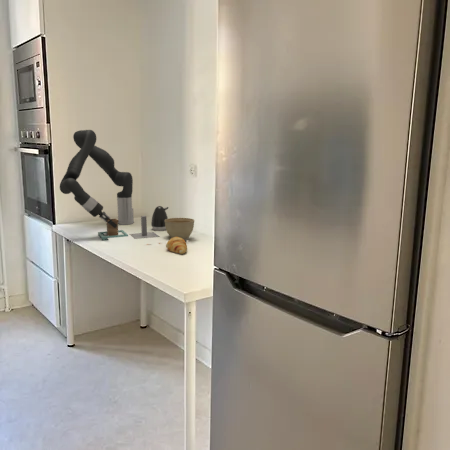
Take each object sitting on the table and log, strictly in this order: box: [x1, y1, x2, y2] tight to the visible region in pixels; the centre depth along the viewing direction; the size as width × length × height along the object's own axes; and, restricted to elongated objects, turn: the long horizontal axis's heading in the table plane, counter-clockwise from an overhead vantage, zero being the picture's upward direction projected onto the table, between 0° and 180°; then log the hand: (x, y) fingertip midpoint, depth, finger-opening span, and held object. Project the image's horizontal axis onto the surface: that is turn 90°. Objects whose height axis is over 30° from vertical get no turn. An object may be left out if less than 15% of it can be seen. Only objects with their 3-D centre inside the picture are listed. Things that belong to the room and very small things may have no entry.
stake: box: [128, 215, 161, 240], centre depth 248 cm, size 14×14×12 cm
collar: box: [106, 218, 119, 236], centre depth 249 cm, size 5×6×9 cm
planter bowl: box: [165, 217, 195, 240], centre depth 243 cm, size 16×16×11 cm
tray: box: [97, 229, 129, 241], centre depth 250 cm, size 14×14×2 cm
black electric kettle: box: [150, 205, 169, 232], centre depth 265 cm, size 10×10×15 cm
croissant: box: [165, 237, 188, 255], centre depth 220 cm, size 21×10×8 cm, turn 25°
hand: (114, 225), depth 250 cm, fingers open, 8 cm apart
